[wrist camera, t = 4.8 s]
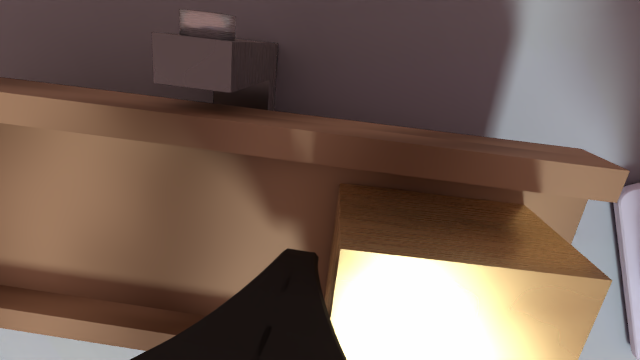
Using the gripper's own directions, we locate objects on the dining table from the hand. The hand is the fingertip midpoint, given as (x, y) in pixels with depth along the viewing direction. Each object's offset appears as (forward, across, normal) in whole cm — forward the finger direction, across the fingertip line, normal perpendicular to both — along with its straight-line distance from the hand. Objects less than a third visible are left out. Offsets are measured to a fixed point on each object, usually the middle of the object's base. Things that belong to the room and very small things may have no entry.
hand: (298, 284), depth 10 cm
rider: (+2, -3, 0) cm, 4 cm away
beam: (+2, +3, 0) cm, 4 cm away
